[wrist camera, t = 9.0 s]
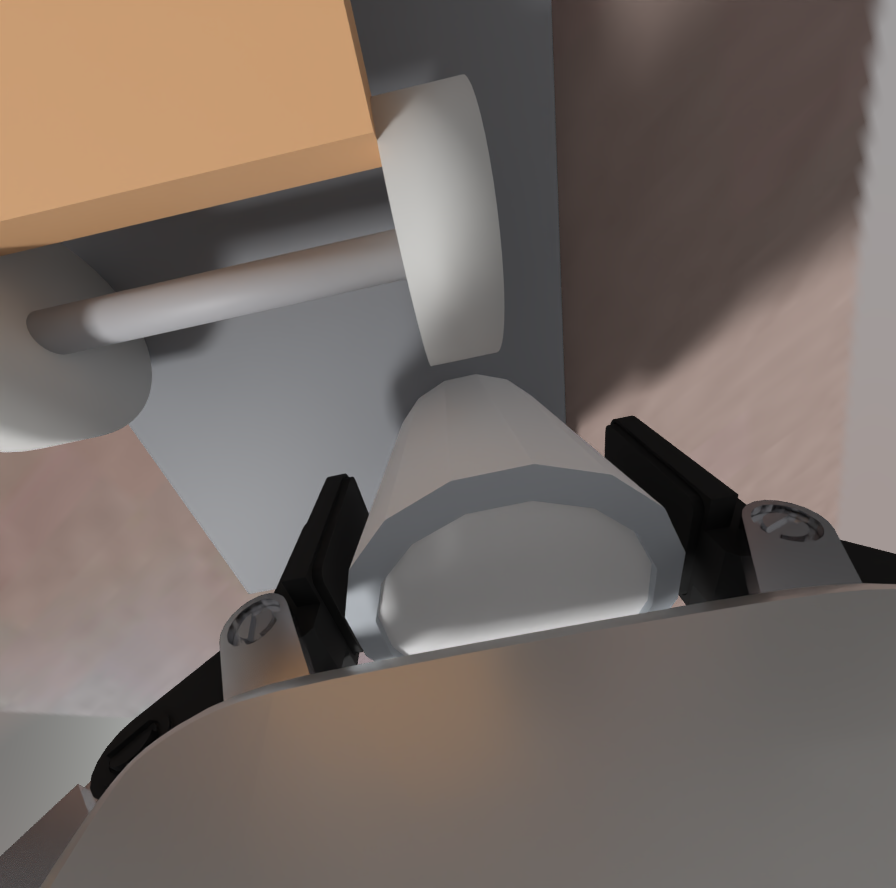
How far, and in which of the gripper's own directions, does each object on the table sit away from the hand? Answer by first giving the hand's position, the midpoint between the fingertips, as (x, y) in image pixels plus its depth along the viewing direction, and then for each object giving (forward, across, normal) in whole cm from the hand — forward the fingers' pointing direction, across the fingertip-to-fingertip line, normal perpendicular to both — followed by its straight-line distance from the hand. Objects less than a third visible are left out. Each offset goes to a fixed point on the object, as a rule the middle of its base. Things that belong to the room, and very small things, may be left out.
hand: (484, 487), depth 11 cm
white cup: (+3, 0, 0) cm, 3 cm away
